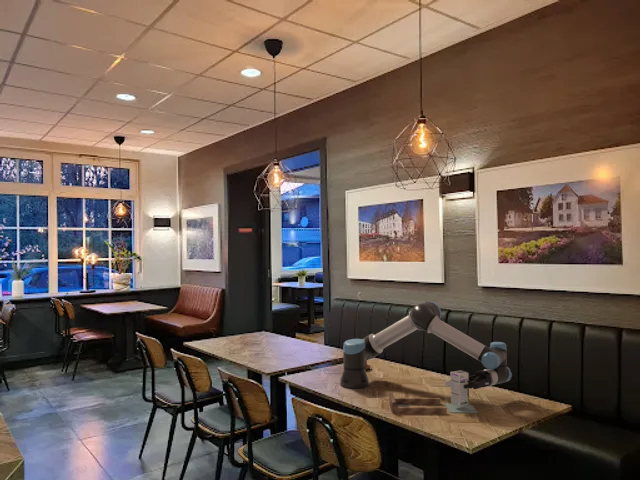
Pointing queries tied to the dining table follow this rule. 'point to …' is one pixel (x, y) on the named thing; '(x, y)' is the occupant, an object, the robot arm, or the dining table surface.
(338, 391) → the dining table surface
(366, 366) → the cup and saucer
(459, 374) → the syrup box
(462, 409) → the pad
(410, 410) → the walnut lane
